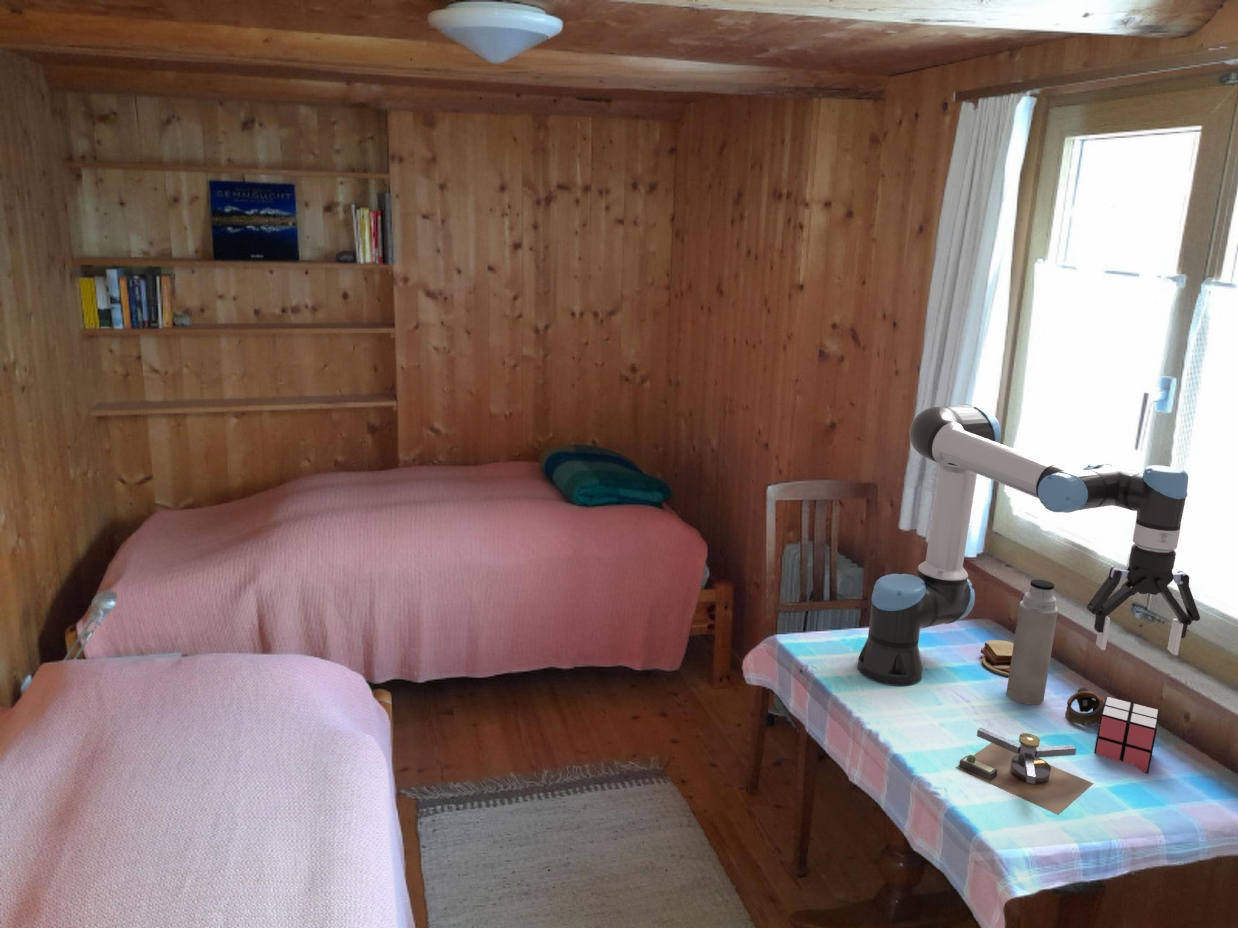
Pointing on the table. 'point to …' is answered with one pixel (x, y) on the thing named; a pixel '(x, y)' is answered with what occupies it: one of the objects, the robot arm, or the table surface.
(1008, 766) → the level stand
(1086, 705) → the pottery mug
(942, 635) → the table surface
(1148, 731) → the puzzle cube
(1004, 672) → the toy sandwich meal
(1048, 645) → the thermos bottle
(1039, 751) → the cam capstan
